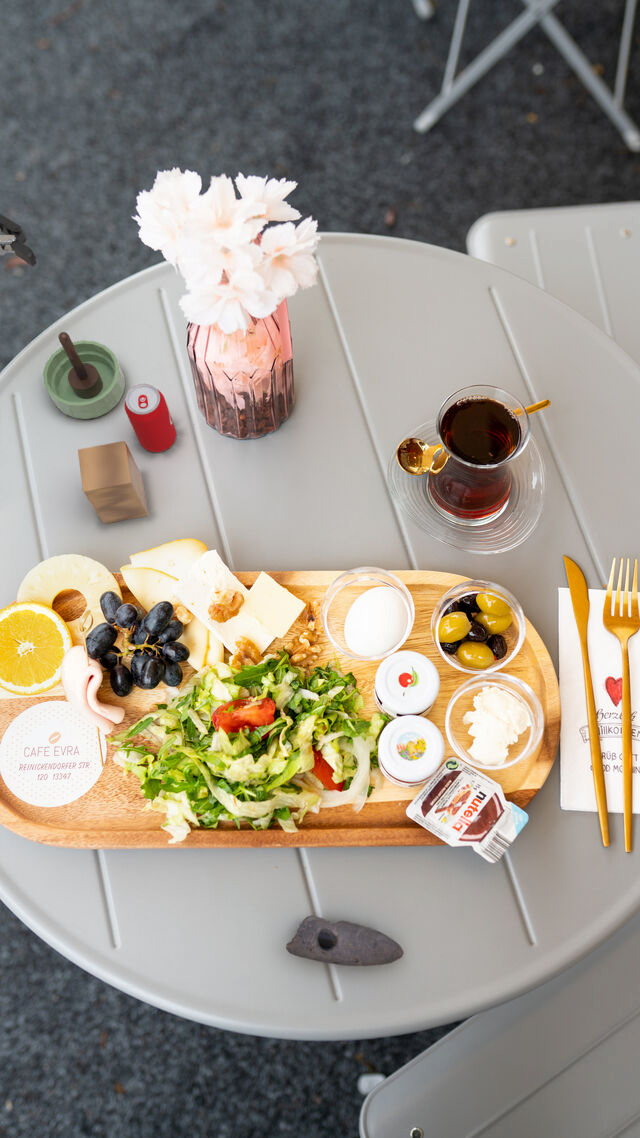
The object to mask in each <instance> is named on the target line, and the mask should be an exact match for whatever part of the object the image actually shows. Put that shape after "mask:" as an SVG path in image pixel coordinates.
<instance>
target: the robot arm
mask: <svg viewBox="0 0 640 1138" xmlns="http://www.w3.org/2000/svg"><path fill="white" fill-rule="evenodd" d="M26 242H27V237H26V235H25V233H24V230H23V229H22V227H21V225H19V224H18V223H16V222H15V221H13V220H11V219H10V218H8V217H6V216H4V215H3V214H1V213H0V256H5V255H6V254H15V255H16V257H18V258H20V259H21V260H22V261H23V262H25V263H27V264H28V265H29V266H31V267H35V266H36V265H37V261H36V259H37V258H36V255H35V253H34V252H33V249H31V248H30V247H29V246H27V245H26V244H25V243H26Z"/></svg>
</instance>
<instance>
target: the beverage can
mask: <svg viewBox="0 0 640 1138" xmlns="http://www.w3.org/2000/svg"><path fill="white" fill-rule="evenodd" d="M124 411H125V413H126V415H127V418H128V420H129V422H130V424H131V427H132V429H133V431H134V433H135V435H136V438H137V440H138V443H139V444H140V446H141V447H142V448H143V449H144V450H146V451H148V452H151V453H162V452H165V451H167V450H168V449H170V448H171V447H172V446H173V445H174V443H175V442H176V439H177V429H176V426H175V424H174V421H173V418H172V416H171V413H170V410H169V406H168V404H167V401H166V399H165V396H164V394H163V393H162V392H161V390H159V389H157V388H156V387H155V386H153V385H151V384H149V383H139V384H136V385H134V386H132V387H131V388H130V389H129V390H128V391H127V393H126V395H125V399H124Z"/></svg>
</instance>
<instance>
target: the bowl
mask: <svg viewBox="0 0 640 1138" xmlns="http://www.w3.org/2000/svg"><path fill="white" fill-rule="evenodd" d="M72 343H73V345H74V347H75V349H76V351H77V353H78V355H79V357H80V359H81V361H82V363H89V364H91V365H93V366H95V367H96V369H97V370H98V373H99V375H100V377H101V379H102V381H103V388H102V390H101V392H100V393H99V394H98V395H97V396H95V397H93V398H90V399H83V398H80V397H78V396H77V395H76V394H75V393H74V391H73V389H72V387H71V385H70V384H69V381H68V373H69V371H70V370H71V369H72V368H73V366H72V364H71V362H70V360H69V358H68V356H67V354H66V352H65V350H64V348H63V347H62V346H60V347H59V348H58V349H57V350H56V351H55V352H53V353H52V354H51V355H50V356H49V359H48V360H46V361H47V362H46V363H45V365H44V369H43V372H42V377H43V385H44V387H45V389H46V391H47V393H48V394H49V396H50V398H51V400H52V401H53V403H54V405H55V406H56V408H57V409H59V411H61V412H62V413H63V414H64V415H67V416H69V417H72V418H74V419H82V420H88V419H95V418H98V417H101V416H103V415H105V414H107V413H109V412H110V411H111V410H112V409H113V408H115V407H116V406H117V405H118V404H119V402H120V401H121V399H122V397H123V395H124V391H125V387H126V382H125V381H126V380H125V375H124V372H123V370H122V368H121V365H120V362H119V360H118V359H117V357H116V355H115V353H114V352H113V351H112V350H111V349H110V348H109V347H107V346H106V345H105V344H102V343H100V342H97V341H94V340H77V341H72Z"/></svg>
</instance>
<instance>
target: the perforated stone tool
mask: <svg viewBox="0 0 640 1138" xmlns="http://www.w3.org/2000/svg"><path fill="white" fill-rule="evenodd" d="M285 949H286V950H287V952H288V953H289V954H290V955H293V956H296V957H299V958H303V959H307V960H312V961H315V962H321V963H325V964H332V965H339V966H347V967H350V966H351V967H372V966H383V965H388V964H392V963H395V962H396V961H398V960H400V959H402V958H403V957H404V954H405V953H404V950H403V947H402V946H401V945H400V944H399V943H398V942H397V941H395V940H394V939H393V938H392V937H390V936H388V935H387V934H385V933H382V932H381V931H379V930H376V929H374V928H371V927H368V926H365V925H362V924H358V923H354V922H352V921H351V922H350V921H346V920H339V921H337V922H336V923H333V922H330V921H329V920H327V919H324V918H323V917H320V916H317V915H308V916H306V917H305V918H304V919H303V920H302V922H301V923H299V926H298V927H297V930H296V932H295V935H294V936H293V938H292V939H291V940H290V941H289V942H287V943H286V946H285Z"/></svg>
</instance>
